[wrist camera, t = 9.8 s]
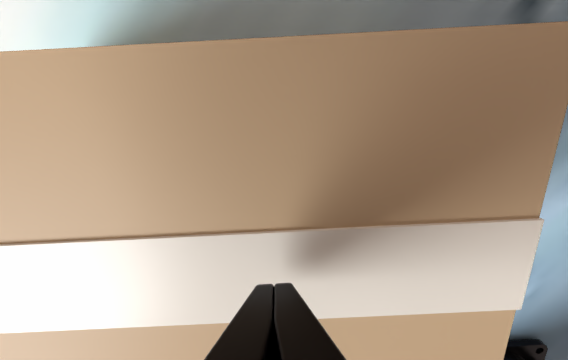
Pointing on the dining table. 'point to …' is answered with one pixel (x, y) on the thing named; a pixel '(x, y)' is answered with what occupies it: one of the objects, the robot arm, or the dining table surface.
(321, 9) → the dining table surface
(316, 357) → the robot arm
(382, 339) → the carton lid
